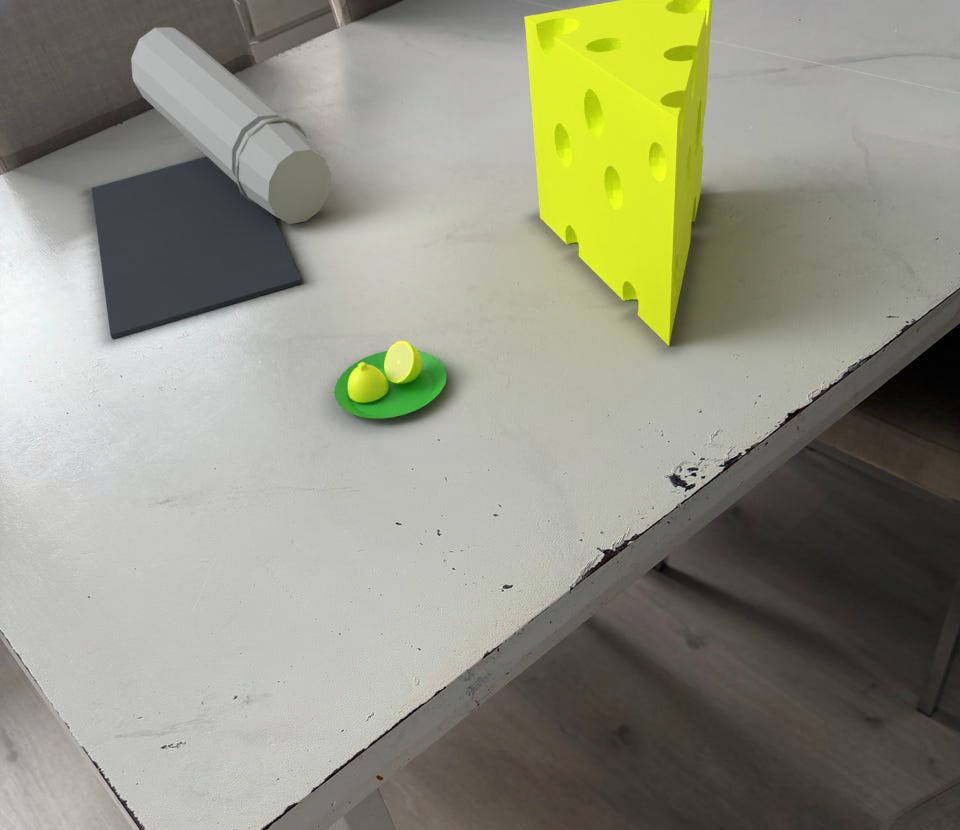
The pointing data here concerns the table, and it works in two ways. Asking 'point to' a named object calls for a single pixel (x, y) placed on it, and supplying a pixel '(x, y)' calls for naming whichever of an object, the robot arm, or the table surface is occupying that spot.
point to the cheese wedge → (623, 139)
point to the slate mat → (184, 246)
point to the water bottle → (232, 125)
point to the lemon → (390, 382)
